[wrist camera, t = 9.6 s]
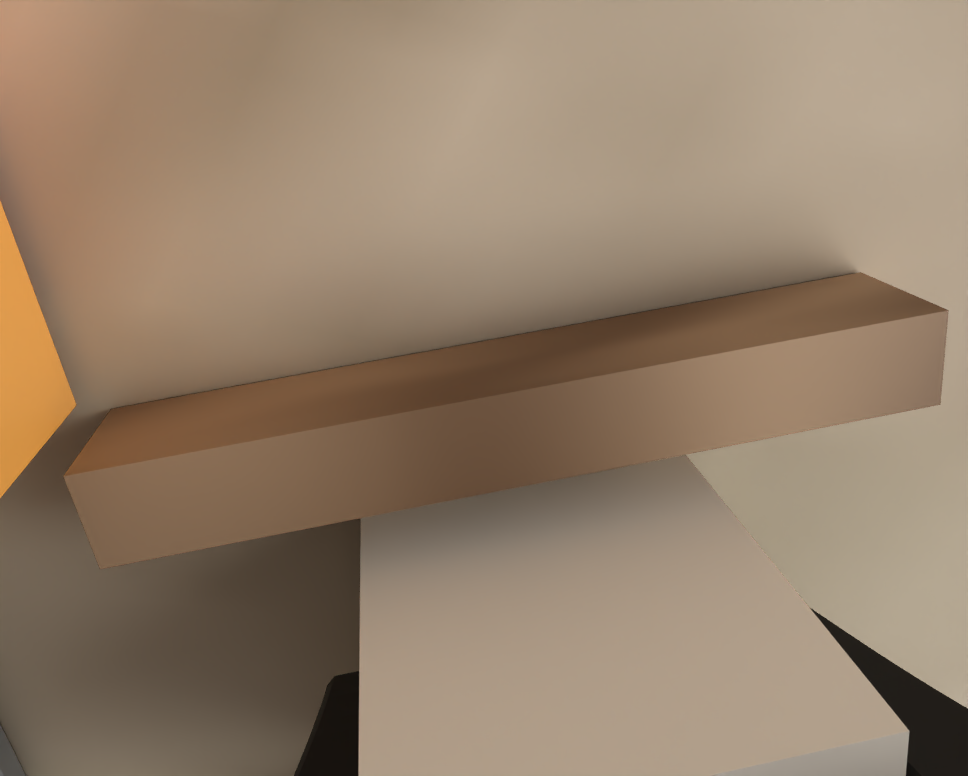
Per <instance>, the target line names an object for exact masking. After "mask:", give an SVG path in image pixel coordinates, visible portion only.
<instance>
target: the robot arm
mask: <svg viewBox="0 0 968 776" xmlns="http://www.w3.org/2000/svg"><path fill="white" fill-rule="evenodd" d="M809 608H810V607H809ZM810 609H811V608H810ZM811 610H812V609H811ZM812 611H813V613H814V614H815V615H816V616H817V617H818V619H819V620H820V621H821V622H822V624H823V625H824V626H825V627H826V629H827V630H828V631H829V632H830V634H831V635H832V636H833V637H834V638H835V640H836V641H837V642H838V643H839V645H840V646H841V647H842V648H843V650H844V651H845V652H846V653H847V655H848V656H849V657H850V658H851V659H852V661H853V662H854V663H855V664H856V666H857V667H858V668H859V669H860V671H861V672H862V673H863V674H864V676H865V677H866V678H867V679H868V680H869V682H870V683H871V684H872V685H873V687H874V688H875V689H876V690H877V692H878V693H879V694H880V695H881V697H882V698H883V699H884V700H885V701H886V703H887V704H888V705H889V706H890V708H891V709H892V710H893V711H894V713H895V714H896V715H897V716H898V717H899V719H900V720H901V721H902V722H903V724H904V725H905V726H906V727H907V729H908V730H909V742H908V754H907V766H906V776H968V709H967V708H966V707H964V706H962V705H961V704H959V703H957V702H956V701H954V700H952V699H951V698H949V697H947V696H946V695H944V694H942V693H941V692H939V691H937V690H936V689H934V688H932V687H931V686H929V685H927V684H926V683H924V682H923V681H921V680H919V679H918V678H916V677H914V676H913V675H911V674H910V673H908V672H907V671H905V670H903V669H902V668H900V667H899V666H897V665H895V664H894V663H892V662H891V661H889V660H888V659H886V658H885V657H883V656H881V655H880V654H878V653H877V652H875V651H874V650H872V649H871V648H869V647H868V646H866V645H865V644H863V643H862V642H860V641H859V640H857V639H856V638H854V637H853V636H851V635H850V634H848V633H847V632H845V631H844V630H842V629H841V628H839V627H838V626H836V625H835V624H833V623H832V622H830V621H829V620H827V619H826V618H824V617H823V616H821V615H820V614H818V613H817V612H815V611H814V610H812ZM358 768H359V671H357V672H352V673H347V674H342V675H338V676H334V678H333V679H332V680H331V681H330V683H329V684H328V686H327V689H326V692H325V695H324V698H323V701H322V704H321V707H320V710H319V713H318V716H317V718H316V721H315V724H314V727H313V729H312V732H311V735H310V737H309V740H308V742H307V745H306V747H305V750H304V752H303V755H302V757H301V760H300V762H299V765H298V767H297V770H296V772H295V774H294V776H358Z"/></svg>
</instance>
